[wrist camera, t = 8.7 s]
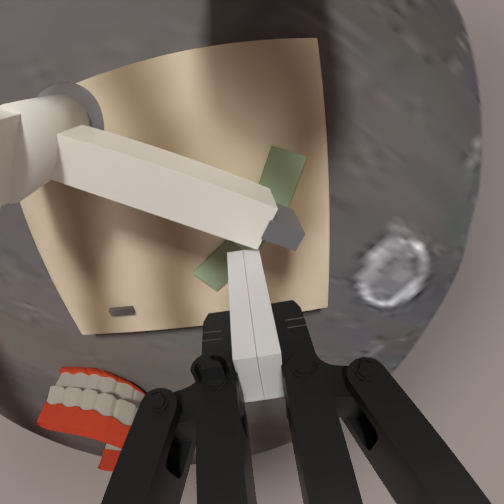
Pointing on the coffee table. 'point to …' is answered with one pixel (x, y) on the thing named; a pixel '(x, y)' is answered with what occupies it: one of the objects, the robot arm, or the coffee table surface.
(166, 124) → the board
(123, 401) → the toy
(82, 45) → the coffee table surface
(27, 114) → the lever
